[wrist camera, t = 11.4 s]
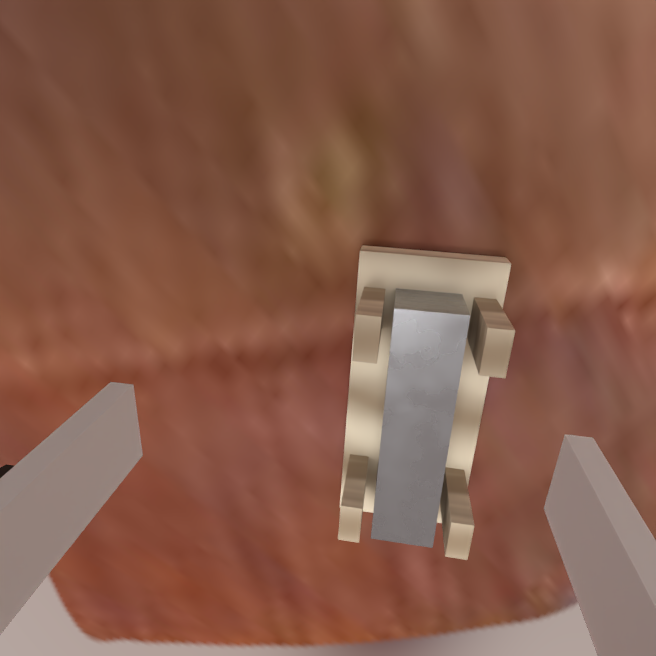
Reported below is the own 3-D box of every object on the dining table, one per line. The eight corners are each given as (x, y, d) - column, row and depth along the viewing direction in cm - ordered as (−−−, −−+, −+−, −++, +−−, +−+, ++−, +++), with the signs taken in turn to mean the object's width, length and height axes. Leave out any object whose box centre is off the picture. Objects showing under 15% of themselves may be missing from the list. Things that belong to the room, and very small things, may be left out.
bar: (395, 288, 33) (394, 308, 29) (462, 294, 33) (470, 315, 29) (374, 497, 40) (370, 538, 36) (429, 505, 39) (432, 547, 35)
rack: (362, 245, 35) (350, 272, 27) (505, 257, 33) (533, 288, 26) (342, 492, 43) (329, 564, 35) (457, 508, 41) (468, 587, 34)
